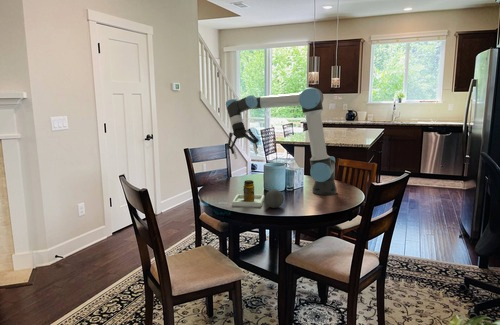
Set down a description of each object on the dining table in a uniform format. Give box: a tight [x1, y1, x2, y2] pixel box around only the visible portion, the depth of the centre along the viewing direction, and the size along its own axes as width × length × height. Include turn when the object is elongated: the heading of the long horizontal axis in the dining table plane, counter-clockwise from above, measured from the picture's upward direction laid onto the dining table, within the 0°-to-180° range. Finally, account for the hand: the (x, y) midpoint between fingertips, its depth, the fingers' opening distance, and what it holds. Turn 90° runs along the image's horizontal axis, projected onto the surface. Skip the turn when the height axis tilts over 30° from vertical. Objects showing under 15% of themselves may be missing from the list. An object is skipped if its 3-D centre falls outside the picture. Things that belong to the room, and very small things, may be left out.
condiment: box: [240, 179, 257, 202], centre depth 199 cm, size 7×8×12 cm
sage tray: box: [231, 193, 265, 208], centre depth 200 cm, size 16×16×2 cm
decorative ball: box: [264, 188, 285, 209], centre depth 190 cm, size 10×10×10 cm
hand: (246, 156), depth 214 cm, fingers open, 13 cm apart
